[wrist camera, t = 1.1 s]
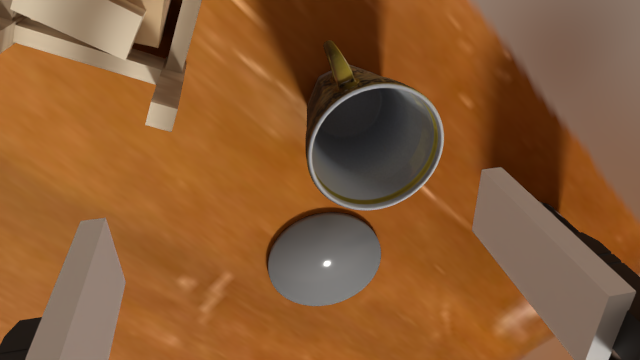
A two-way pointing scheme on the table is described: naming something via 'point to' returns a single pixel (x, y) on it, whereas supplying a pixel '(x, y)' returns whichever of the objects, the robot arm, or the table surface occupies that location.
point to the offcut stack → (102, 21)
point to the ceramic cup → (369, 136)
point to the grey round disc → (324, 259)
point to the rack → (12, 27)
